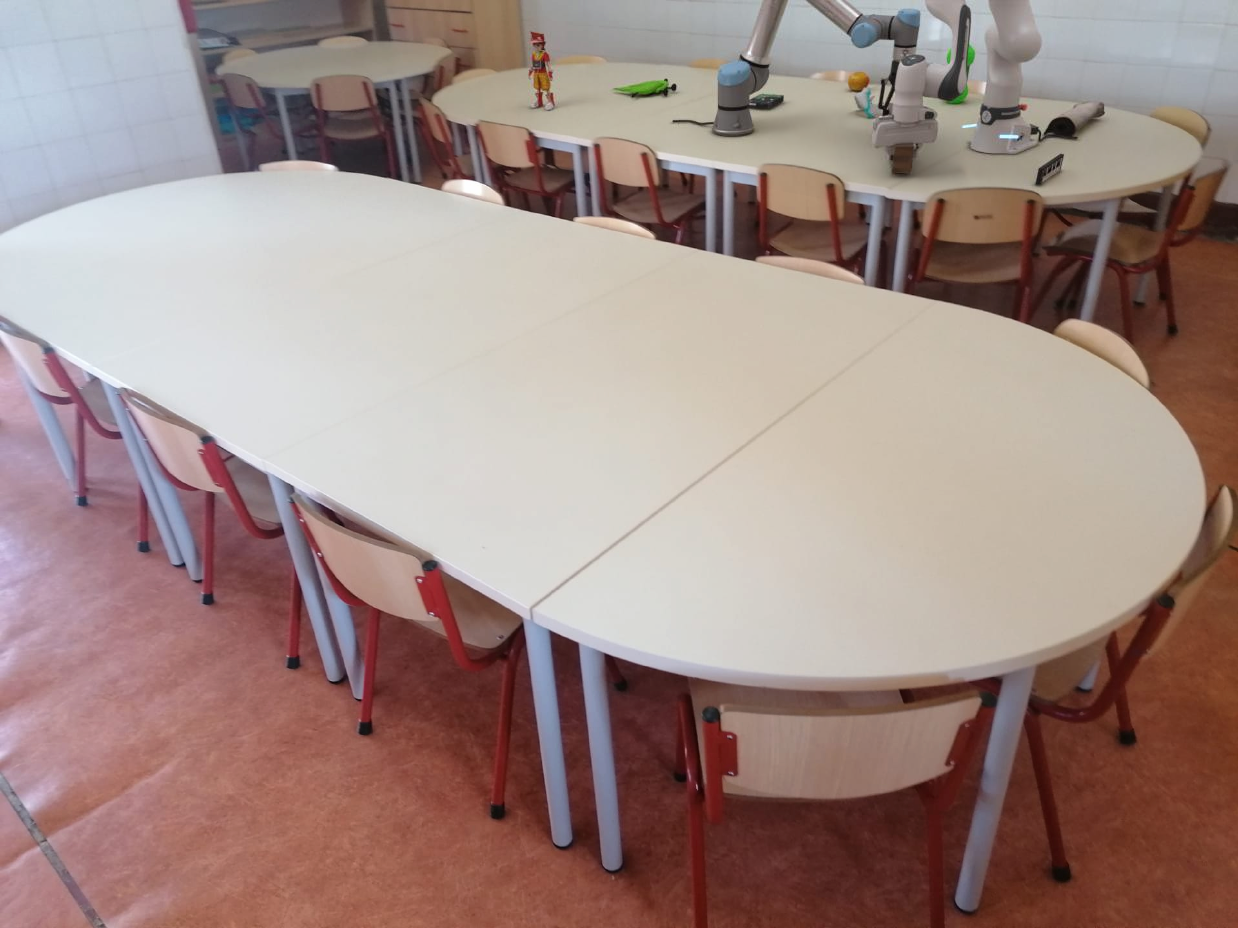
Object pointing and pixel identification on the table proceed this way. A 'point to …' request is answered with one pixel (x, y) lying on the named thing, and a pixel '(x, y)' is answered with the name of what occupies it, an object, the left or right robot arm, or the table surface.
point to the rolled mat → (1075, 118)
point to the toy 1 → (541, 71)
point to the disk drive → (765, 101)
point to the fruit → (858, 81)
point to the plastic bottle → (970, 60)
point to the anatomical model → (867, 103)
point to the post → (901, 154)
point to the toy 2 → (648, 88)
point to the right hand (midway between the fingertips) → (901, 158)
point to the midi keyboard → (1049, 169)
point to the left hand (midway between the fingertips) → (894, 129)
